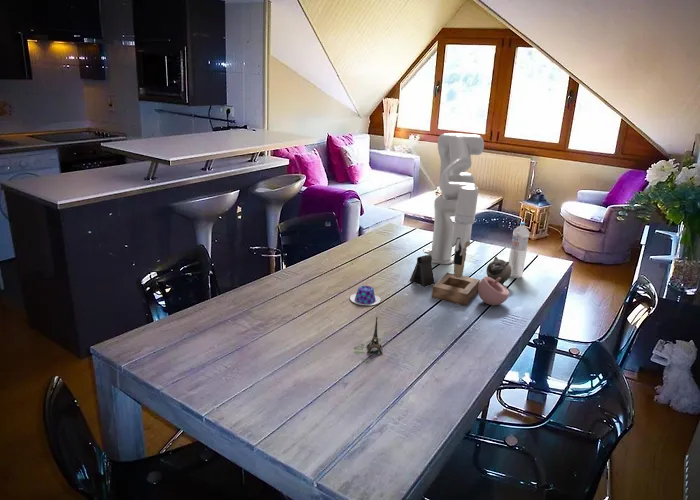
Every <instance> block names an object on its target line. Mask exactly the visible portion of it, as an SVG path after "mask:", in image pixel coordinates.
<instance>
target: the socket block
mask: <svg viewBox="0 0 700 500" xmlns="http://www.w3.org/2000/svg"><path fill="white" fill-rule="evenodd" d="M480 281H481V279H478V278H474V277H469V276H464V275H462V277H461V278H456V277H455V276H454V273H451V272H446V273H445V274H444V275H443V276H442V277H440V278H439V280H437V282H435V284H433V285H432V289H431V298H432V299H436V300H440V301H444V302H448V303H452V304H456V305H459V306H464V307H467V305H468V304H469V302H471V300H472V299H474V297H475V295H476V294H477V293H478V285H479V283H480Z"/></svg>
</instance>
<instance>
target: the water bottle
mask: <svg viewBox="0 0 700 500" xmlns="http://www.w3.org/2000/svg"><path fill="white" fill-rule="evenodd" d="M519 224H520V225H518V226H517V227H516V228H514V229H513V232H512V240H511V244H510V245H511V247H510V251H509V259H508V262H509V265H510V266H511V270H512V271H511V275H510V278H513V279H521V278H522V277H523V275H524V274H523V273H524V267H525V261H526V257H527V248H528V242H529V237H530V231H529V229H528V227H526V222H525V221H522V222H520V223H519Z"/></svg>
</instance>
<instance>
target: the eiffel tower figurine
mask: <svg viewBox="0 0 700 500" xmlns="http://www.w3.org/2000/svg"><path fill="white" fill-rule="evenodd" d="M378 319H379V318H378V316H376V317H375V326H374V332H373V335H372V338H371V339H370V340H369V341H366V342H364V343H361V344H358V345H356V346H355V347H353V348H352V350H353V352H352V353H354V354H355V355H357V356H362V355H364V354H366V355H374V356H384V349H383V346H382V344H381V343H380V341H381V340H382V338H381V337H379V335H378ZM360 360H361V361H363V362H365V363H367V364H369V363H370V361H368V360H367V359H365V357H363V358H360Z"/></svg>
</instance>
